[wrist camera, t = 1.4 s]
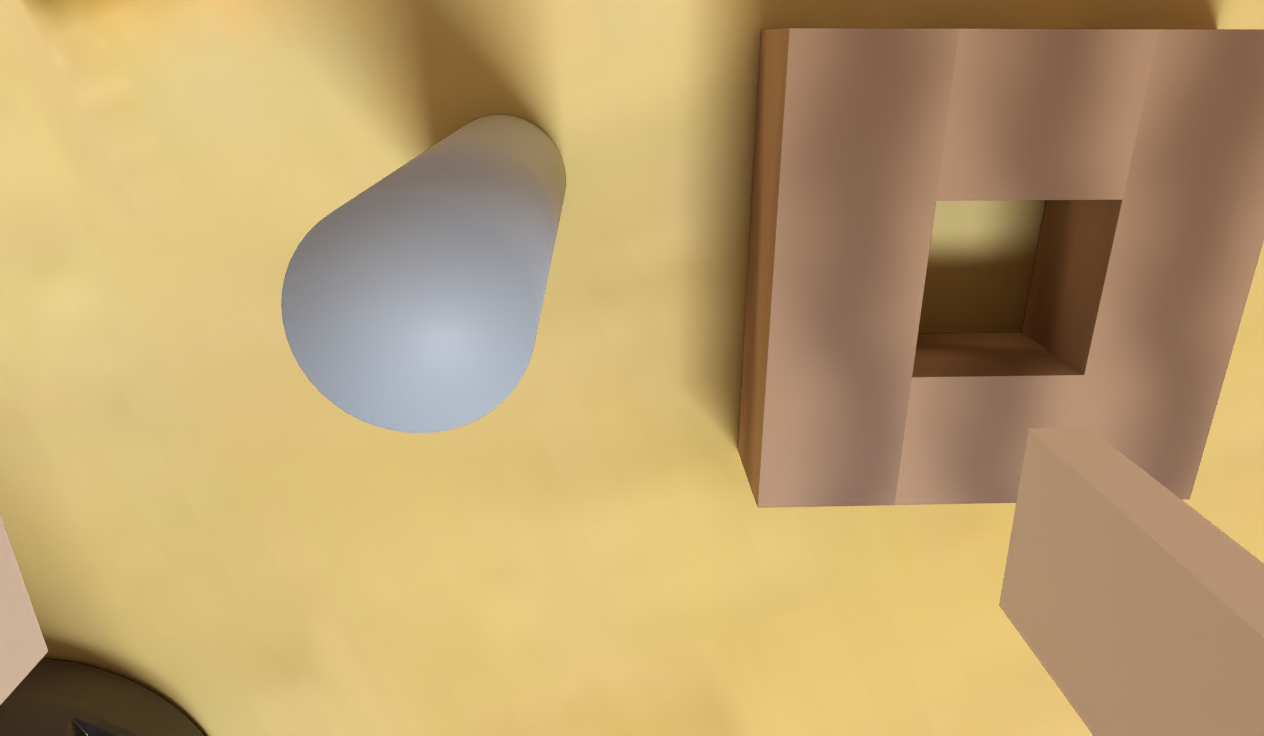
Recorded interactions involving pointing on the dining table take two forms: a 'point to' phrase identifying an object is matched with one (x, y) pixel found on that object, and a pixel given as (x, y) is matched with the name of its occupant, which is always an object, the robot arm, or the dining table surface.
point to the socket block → (1064, 265)
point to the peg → (431, 280)
